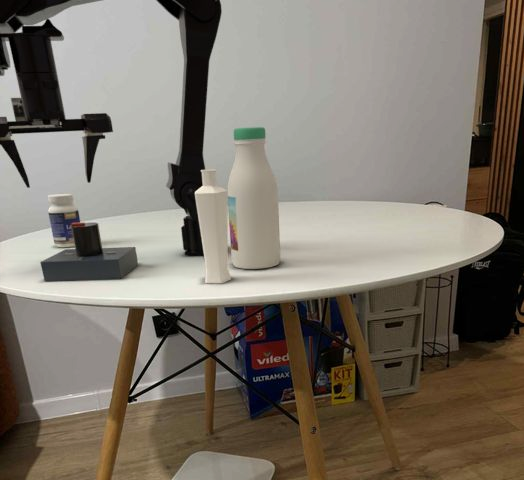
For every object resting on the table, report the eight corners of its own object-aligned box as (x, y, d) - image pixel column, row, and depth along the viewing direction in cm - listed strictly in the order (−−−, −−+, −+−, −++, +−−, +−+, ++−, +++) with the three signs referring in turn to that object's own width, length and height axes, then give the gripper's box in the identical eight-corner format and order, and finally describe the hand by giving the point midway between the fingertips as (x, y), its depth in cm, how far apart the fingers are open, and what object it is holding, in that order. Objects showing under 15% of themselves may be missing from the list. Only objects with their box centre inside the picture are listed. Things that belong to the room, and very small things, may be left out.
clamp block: (138, 264, 84) (135, 245, 82) (121, 278, 75) (117, 258, 74) (68, 266, 84) (64, 248, 83) (44, 281, 76) (39, 260, 75)
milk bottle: (287, 260, 82) (284, 126, 74) (268, 271, 75) (262, 126, 67) (245, 257, 85) (237, 128, 77) (223, 268, 78) (212, 129, 70)
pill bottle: (74, 247, 100) (64, 196, 96) (49, 248, 101) (38, 196, 97) (89, 242, 105) (80, 192, 101) (65, 242, 106) (55, 193, 102)
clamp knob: (106, 250, 80) (101, 220, 78) (97, 256, 77) (92, 224, 75) (82, 251, 81) (76, 221, 79) (72, 256, 77) (66, 225, 75)
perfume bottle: (207, 286, 69) (196, 171, 63) (197, 279, 73) (187, 170, 67) (237, 281, 71) (230, 169, 65) (227, 274, 75) (219, 168, 69)
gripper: (94, 80, 85) (110, 177, 91) (-29, 82, 78) (-3, 187, 84) (104, 72, 75) (121, 181, 81) (-36, 72, 68) (-6, 191, 75)
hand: (59, 185), depth 81 cm, fingers open, 9 cm apart
